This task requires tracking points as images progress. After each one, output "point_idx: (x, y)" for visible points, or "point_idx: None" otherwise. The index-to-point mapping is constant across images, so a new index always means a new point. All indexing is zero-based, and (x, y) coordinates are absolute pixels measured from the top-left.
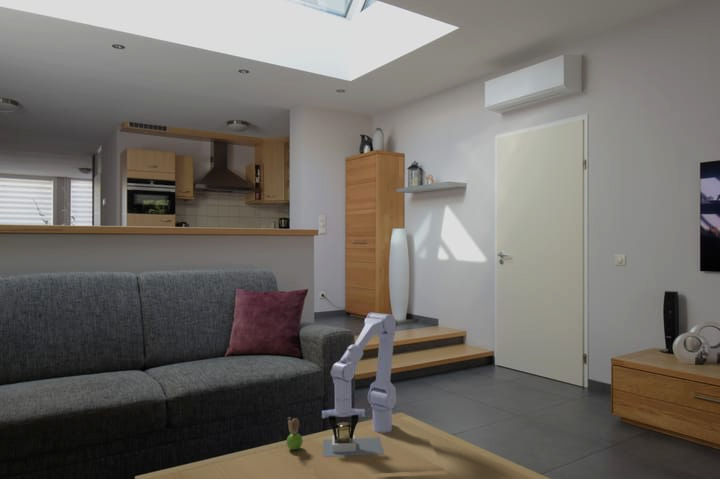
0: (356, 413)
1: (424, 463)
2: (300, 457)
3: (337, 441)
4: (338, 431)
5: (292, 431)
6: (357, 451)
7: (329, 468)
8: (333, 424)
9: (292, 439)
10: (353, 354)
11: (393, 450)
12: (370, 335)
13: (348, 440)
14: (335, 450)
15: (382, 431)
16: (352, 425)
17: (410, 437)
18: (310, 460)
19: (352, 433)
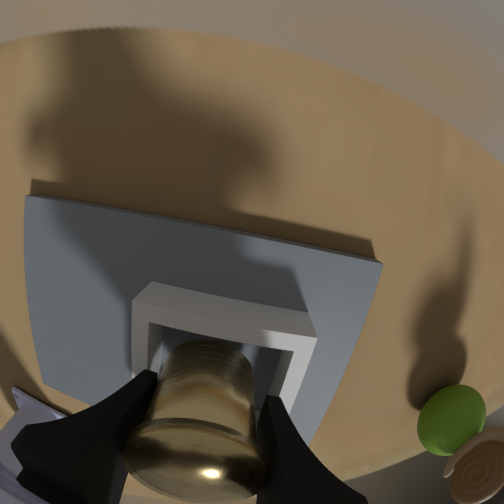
0: (8, 499)
1: None
2: (456, 318)
3: None
4: (252, 433)
5: (502, 430)
6: (143, 274)
7: (367, 128)
8: (315, 485)
9: (481, 408)
10: None
11: (2, 257)
12: None
13: (179, 357)
14: (290, 313)
15: (39, 414)
16: (98, 429)
17: None
18: (434, 271)
19: (130, 388)
